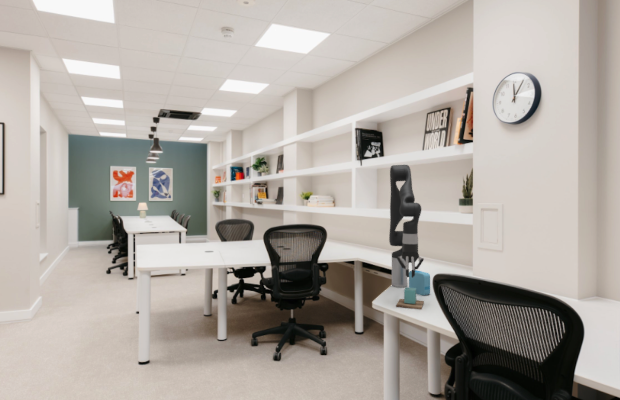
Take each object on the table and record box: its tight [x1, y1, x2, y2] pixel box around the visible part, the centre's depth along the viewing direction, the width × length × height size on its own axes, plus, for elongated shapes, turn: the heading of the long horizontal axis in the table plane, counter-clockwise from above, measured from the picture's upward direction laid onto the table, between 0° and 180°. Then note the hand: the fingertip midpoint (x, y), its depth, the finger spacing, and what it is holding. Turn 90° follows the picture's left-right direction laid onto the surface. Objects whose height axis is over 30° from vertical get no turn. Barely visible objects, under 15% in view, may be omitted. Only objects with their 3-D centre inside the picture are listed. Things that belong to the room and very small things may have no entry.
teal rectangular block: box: [403, 286, 417, 304], centre depth 189 cm, size 5×5×7 cm
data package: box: [408, 269, 431, 296], centre depth 212 cm, size 12×4×12 cm, turn 28°
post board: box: [395, 298, 425, 310], centre depth 189 cm, size 12×12×7 cm
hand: (410, 276), depth 189 cm, fingers closed
